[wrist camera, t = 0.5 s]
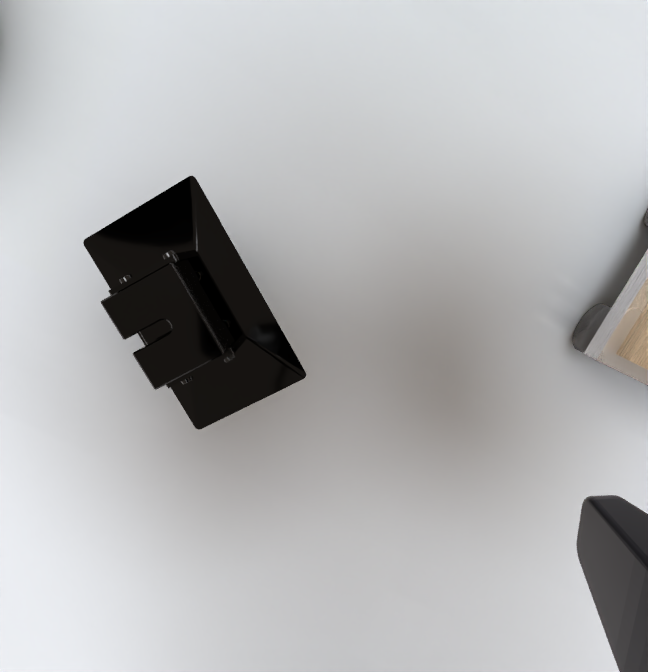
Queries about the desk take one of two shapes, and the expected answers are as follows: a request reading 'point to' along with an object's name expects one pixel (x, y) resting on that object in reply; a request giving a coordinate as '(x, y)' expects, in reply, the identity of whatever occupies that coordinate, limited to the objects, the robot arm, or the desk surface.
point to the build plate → (192, 306)
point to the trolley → (620, 327)
